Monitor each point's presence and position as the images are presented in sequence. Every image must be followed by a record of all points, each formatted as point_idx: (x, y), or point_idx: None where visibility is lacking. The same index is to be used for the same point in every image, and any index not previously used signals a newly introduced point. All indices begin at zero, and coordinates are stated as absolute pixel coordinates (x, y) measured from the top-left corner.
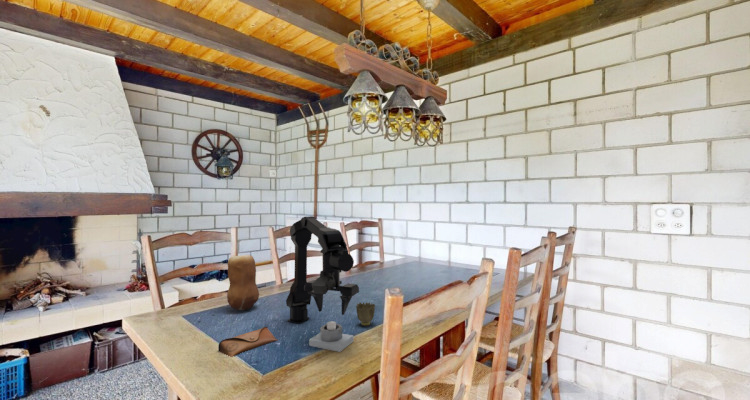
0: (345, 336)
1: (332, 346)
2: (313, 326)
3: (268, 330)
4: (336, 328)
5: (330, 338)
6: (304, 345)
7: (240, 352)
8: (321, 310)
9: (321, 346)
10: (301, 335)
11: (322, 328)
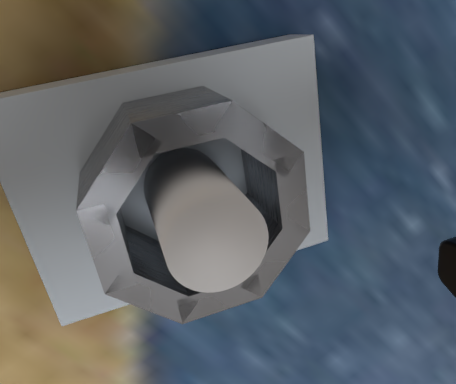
0: None
1: (61, 84)
2: None
3: None
4: None
5: (117, 118)
6: (323, 15)
7: None
8: (443, 278)
9: (178, 58)
10: (440, 130)
11: (263, 142)
